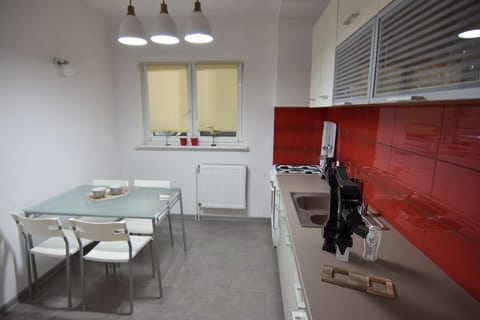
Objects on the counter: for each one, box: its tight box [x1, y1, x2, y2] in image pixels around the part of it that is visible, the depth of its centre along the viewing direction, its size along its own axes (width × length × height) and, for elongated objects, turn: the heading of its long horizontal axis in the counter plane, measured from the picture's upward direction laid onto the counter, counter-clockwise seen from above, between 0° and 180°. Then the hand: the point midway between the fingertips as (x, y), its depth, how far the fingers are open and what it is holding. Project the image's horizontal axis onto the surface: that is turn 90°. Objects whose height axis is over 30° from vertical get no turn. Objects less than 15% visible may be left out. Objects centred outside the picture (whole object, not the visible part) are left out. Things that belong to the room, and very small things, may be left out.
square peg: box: [335, 246, 350, 262], centre depth 107 cm, size 4×4×8 cm
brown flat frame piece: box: [320, 263, 395, 300], centre depth 108 cm, size 10×26×1 cm, turn 67°
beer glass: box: [362, 224, 382, 263], centre depth 123 cm, size 7×7×15 cm
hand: (342, 251), depth 107 cm, fingers closed on square peg, 4 cm apart
